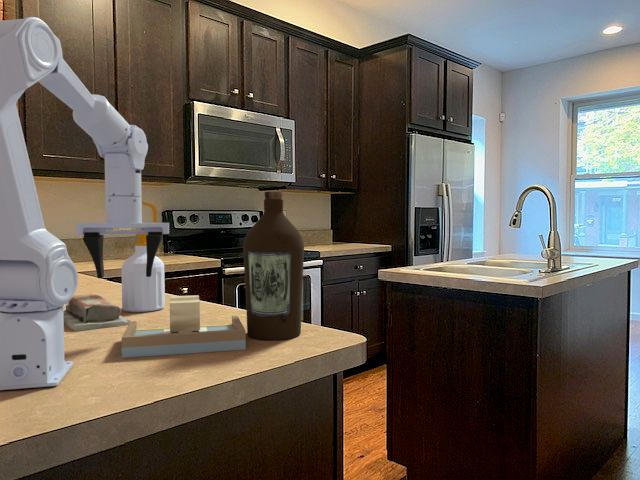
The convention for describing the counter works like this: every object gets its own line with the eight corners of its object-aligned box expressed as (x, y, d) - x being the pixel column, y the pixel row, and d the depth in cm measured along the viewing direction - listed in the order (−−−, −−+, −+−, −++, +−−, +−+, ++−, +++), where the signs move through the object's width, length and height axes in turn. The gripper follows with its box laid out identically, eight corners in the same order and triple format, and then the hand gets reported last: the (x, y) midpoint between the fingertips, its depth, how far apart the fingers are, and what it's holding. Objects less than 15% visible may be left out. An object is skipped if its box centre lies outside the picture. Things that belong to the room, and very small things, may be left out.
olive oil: (251, 327, 94) (250, 193, 92) (307, 328, 92) (307, 193, 91) (236, 340, 83) (235, 190, 82) (299, 342, 82) (299, 190, 81)
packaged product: (55, 295, 104) (105, 291, 110) (56, 318, 104) (106, 313, 110) (73, 307, 90) (130, 302, 96) (74, 334, 90) (130, 327, 96)
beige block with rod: (200, 337, 78) (199, 301, 78) (170, 339, 77) (169, 303, 77) (198, 327, 86) (198, 294, 86) (171, 328, 85) (171, 295, 85)
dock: (245, 349, 77) (245, 330, 77) (121, 357, 73) (121, 337, 73) (237, 332, 89) (237, 315, 89) (130, 338, 84) (130, 321, 84)
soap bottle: (121, 307, 114) (119, 200, 113) (162, 304, 118) (160, 200, 117) (123, 314, 106) (121, 198, 105) (167, 310, 110) (166, 199, 109)
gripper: (169, 198, 90) (170, 273, 90) (81, 197, 86) (83, 275, 87) (167, 196, 83) (168, 277, 84) (72, 195, 79) (74, 280, 80)
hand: (125, 276), depth 85 cm, fingers open, 7 cm apart
